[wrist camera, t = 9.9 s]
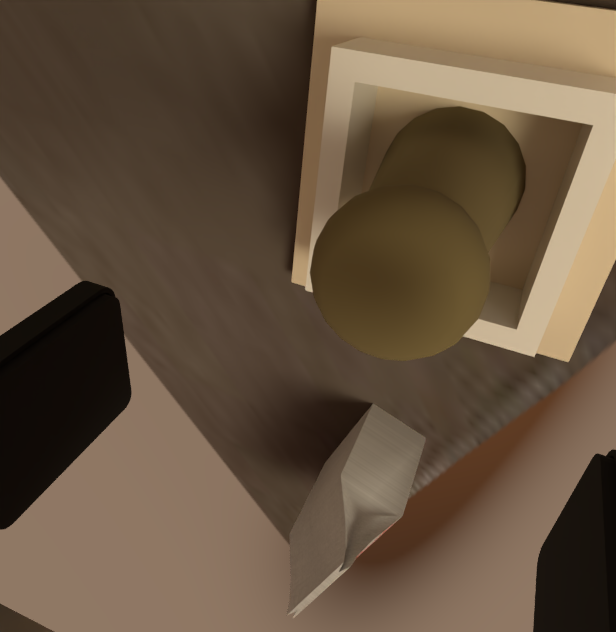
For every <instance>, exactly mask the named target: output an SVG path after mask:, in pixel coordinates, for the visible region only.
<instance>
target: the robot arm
mask: <svg viewBox="0 0 616 632" xmlns="http://www.w3.org/2000/svg"><path fill="white" fill-rule="evenodd" d="M130 398H131V385H130V378H129V369H128V363H127V354H126V347H125V339H124V331H123V324H122V316H121V308H120V303H119V300H118V299H117V298H116V297H115V294H114V292H113V291H112V289H110V288H108V287H105V286H101V285H98V284H95V283H92V282H89V281H82V282H80V283H78V284H76V285H75V286H74V287H72V288H71V289H69V290H68V291H66V292H65V293H63V294H62V295H60V296H59V297H57V298H56V299H54V300H53V301H51V302H50V303H48V304H47V305H46V306H44V307H42V308H41V309H39V310H38V311H36V312H35V313H33V314H32V315H30V316H29V317H27V318H26V319H25V320H23V321H22V322H20V323H19V324H17V325H16V326H14V327H13V328H11V329H10V330H8V331H7V332H5V333H4V334H2V335H1V336H0V529H6V528H7V527H9V526H10V525H12V524H13V523H14V522H15V521H16V520H17V519H18V518H19V517H20V516H21V515H22V514H23V513H24V512H25V510H27V509H28V508H29V507H30V505H31V504H32V503H33V502H34V501H35V500H36V499H37V498H38V497H39V496H40V495H41V494H42V493H43V492H44V491H45V490H46V489H47V488H48V487H49V486H50V485H51V484H52V483H53V482H54V481H55V480H56V478H58V477H59V476H60V475H61V474H62V473H63V472H64V470H66V468H67V467H69V465H70V464H71V463H72V462H73V461H74V460H75V459H76V458H77V457H78V456H79V455H80V454H81V453H82V452H83V451H84V450H85V449H86V448H87V447H88V446H89V445H90V444H91V443H92V442H93V441H94V440H95V439H96V438H97V437H98V436H99V434H101V432H103V431H104V430H105V429H106V427H108V426H109V424H110V423H111V422H112V421H113V420H114V419H115V418H116V417H117V416H118V415H119V414H120V413H121V412H122V411H123V410H124V409H125V408H126V407H127V405H128V403H129V401H130ZM0 632H53V631H52V630H50V629H48V628H46V627H44V626H42V625H40V624H38V623H36V622H35V621H33V620H31V619H29V618H27V617H25V616H23V615H21V614H19V613H17V612H15V611H13V610H11V609H9V608H8V607H5V606H4V605H2V604H0ZM533 632H616V450H611V451H610V452H609V453H608V454H607V455H606V456H604V455H601V454H595V455H594V457H593V458H592V460H591V461H590V463H589V465H588V467H587V469H586V470H585V472H584V474H583V475H582V477H581V479H580V481H579V483H578V484H577V486H576V488H575V489H574V491H573V493H572V495H571V496H570V498H569V500H568V502H567V503H566V505H565V507H564V509H563V510H562V512H561V514H560V516H559V517H558V519H557V521H556V523H555V525H554V526H553V528H552V530H551V531H550V533H549V535H548V537H547V539H546V540H545V542H544V544H543V546H542V548H541V551H540V554H539V557H538V563H537V576H536V594H535V611H534V629H533Z"/></svg>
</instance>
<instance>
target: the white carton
mask: <svg viewBox="0 0 616 632" xmlns="http://www.w3.org/2000/svg"><path fill="white" fill-rule="evenodd" d="M425 440H426V438H425V437H424V436H422V435H421V434H419V433H418V432H416V431H414V430H413V429H411V428H410V427H408V426H407V425H405V424H404V423H402V422H401V421H399V420H398V419H396V418H395V417H393V416H392V415H390V414H388V413H387V412H385V411H384V410H382V409H381V408H379V407H378V406H376V405H375V404H372V405H371V407H370V408H369V409H368V410H367V412H366V413H365V414H364V415H363V416H362V418H361V419H360V420H359V421H358V423H357V424H356V425H355V426H354V428H353V429H352V430H351V431H350V433H349V434H348V435H347V436H346V437H345V439H344V440H343V441H342V442H341V444H340V445H339V446H338V447H337V449H336V450H335V451H334V452H333V454H332V455H331V456H330V457H329V458H328V460H327V461H326V462H325V464H324V466H323V468H322V470H321V472H320V474H319V476H318V478H317V480H316V482H315V484H314V486H313V488H312V490H311V492H310V494H309V496H308V498H307V500H306V502H305V504H304V506H303V508H302V510H301V512H300V514H299V516H298V518H297V520H296V522H295V524H294V526H293V528H292V530H291V533H290V568H291V569H290V570H291V571H290V573H291V583H290V601H289V606H288V611H287V615H288V614H291V613H293V612H295V611H296V612H295V614H294V617H295V616H296V615H297V614H299V613H300V612H301V611H302V610H303V609H304V608H305V607H306V606H307V605H309V604H310V603H311V602H312V601H313V600H314V599H315V598H316V597H317V596H318V595H320V594H321V593H322V592H323V591H324V590H325V589H326V588H327V587H328V586H330V584H332V583H333V582H334V581H335V580H336V579H337V578H338V577H340V576H341V575H342V574H343V573H344V572H345V571H346V570H347V569H348V568H349V567H350V566H351V565H352V564H353V562H354V560H355V559H356V558H357V557H358V556H359V555H360V554H361V553H362V552H364V551H365V550H366V549H367V548H368V547H369V546H370V545H371V544H372V543H373V542H374V541H376V540H377V539H378V538H379V537H380V536H381V535H382V534H383V533H384V532H385V531H387V530H388V529H389V528H390V527H391V526H392V525H393V524H394V523H395V522H396V521H398V520H399V519H400V518H401V517H402V516H403V513H404V509H405V506H406V503H407V499H408V496H409V493H410V490H411V486H412V483H413V480H414V476H415V473H416V470H417V466H418V463H419V460H420V457H421V453H422V450H423V447H424V443H425ZM294 617H293V618H294Z"/></svg>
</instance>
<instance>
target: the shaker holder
mask: <svg viewBox="0 0 616 632" xmlns="http://www.w3.org/2000/svg"><path fill="white" fill-rule="evenodd" d="M457 106H461V107H466V108H470V109H474V110H478V111H482V112H485V113H486V114H488V115H490V116H491V117H493V118H494V119H496V120H497V121H499V122H501V123H502V124H504V125H505V127H506V128H507V129H508V130H509V132H510V133H511V134H512V136H513V137H514V138H515V139H516V141H517V142H518V143H519V146H520V149H521V152H522V155H523V158H524V161H525V165H526V180H525V191H524V194H523V196H522V199H521V201H520V204H519V206H518V209H517V211H516V213H515V214H514V216H513V217H512V219H511V220H510V222H509V223H508V224H507V226H506V227H505V229H504V230H503V232H502V233H501V235H500V236H499V238H498V239H497V241H496V242H495V244H494V245H493V247H492V248H491V250H490V251H489V253H488V254H489V257H490V288H489V293H488V296H487V299H486V301H485V304H484V307H483V309H482V312H481V314H480V317H479V319H478V320H477V321H476V322H475V323H474V324H473V325H472V326H471V328H470V329H469V330H468V331H467V332H466V333H465V334H464V335H463V336H464V337H468V338H471V339H474V340H478V341H481V342H485V343H488V344H492V345H495V346H499V347H502V348H505V349H509V350H512V351H516V352H519V353H523V354H526V355H529V356H533V357H535V354H536V353H538V354H542V355H545V356H549V357H552V358H556V359H559V360H562V361H566V362H569V360H570V358H571V356H572V354H573V351H574V349H575V347H576V345H577V343H578V340H579V338H580V336H581V334H582V332H583V330H584V327H585V325H586V323H587V321H588V319H589V316H590V314H591V312H592V310H593V308H594V305H595V303H596V301H597V299H598V297H599V295H600V292H601V290H602V288H603V286H604V284H605V281H606V279H607V277H608V275H609V273H610V271H611V268H612V266H613V264H614V262H615V260H616V9H608V8H600V7H593V6H585V5H577V4H570V3H562V2H554V1H547V0H317V9H316V20H315V31H314V42H313V53H312V64H311V75H310V86H309V96H308V107H307V118H306V129H305V140H304V151H303V162H302V173H301V184H300V195H299V206H298V216H297V227H296V238H295V249H294V260H293V271H292V282H293V283H296V284H300V285H303V286H306V288H305V290H306V291H310V292H313V289H312V283H311V277H310V268H311V262H312V256H313V250H314V247H315V243H316V240H317V238H318V237H319V235H320V233H321V231H322V229H323V228H324V226H325V224H326V222H327V221H328V219H329V218H330V217H331V216H332V215H333V214H334V213H335V212H336V211H338V210H339V209H340V208H341V207H342V206H343V205H345V204H346V203H347V202H348V201H349V200H351V199H352V198H353V197H354V196H356V195H359V194H361V193H364V192H367V191H369V189H370V186H371V184H372V182H373V180H374V178H375V175H376V173H377V171H378V169H379V167H380V164H381V162H382V160H383V158H384V156H385V154H386V152H387V150H388V148H389V146H390V145H391V143H392V141H393V140H394V138H395V136H396V135H397V133H398V132H399V131H400V130H401V129H403V128H404V127H405V126H406V125H407V124H408V123H409V122H410V121H412V120H413V119H414V118H415V117H418V116H420V115H422V114H425V113H427V112H429V111H432V110H434V109H436V108H447V107H457Z"/></svg>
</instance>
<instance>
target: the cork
mask: <svg viewBox="0 0 616 632" xmlns="http://www.w3.org/2000/svg"><path fill="white" fill-rule="evenodd" d="M525 180H526V165H525V161H524V158H523V155H522V152H521V149H520V146H519V143H518V142H517V141H516V139H515V138H514V137H513V136H512V134H511V133H510V132H509V130H508V129H507V128H506V127H505V125H504V124H502V123H501V122H499V121H497V120H496V119H494V118H493V117H491V116H490V115H488V114H486V113H485V112H482V111H478V110H474V109H470V108H466V107H461V106H457V107H447V108H436V109H434V110H432V111H429V112H427V113H425V114H422V115H420V116H418V117H415V118H414V119H413V120H412V121H410V122H409V123H408V124H407V125H406V126H405V127H404V128H403V129H401V130H400V131H399V132H398V133H397V135H396V136H395V138H394V140H393V141H392V143H391V145H390V146H389V148H388V150H387V152H386V154H385V156H384V158H383V160H382V162H381V164H380V167H379V169H378V171H377V173H376V175H375V178H374V180H373V182H372V184H371V186H370V189H369V191H367V192H364V193H361V194H359V195H356V196H354V197H353V198H352V199H351V200H349V201H348V202H347V203H346V204H345V205H343V206H342V207H341V208H340V209H339V210H338V211H336V212H335V213H334V214H333V215H332V216H331V217H330V218H329V219H328V221H327V222H326V224H325V226H324V228H323V229H322V231H321V233H320V235H319V237H318V238H317V240H316V243H315V247H314V250H313V256H312V262H311V268H310V277H311V283H312V289H313V295H314V298H315V300H316V303H317V305H318V307H319V309H320V311H321V313H322V315H323V317H324V319H325V321H326V322H327V324H328V325H329V326H330V327H331V328H332V329H333V330H334V331H335V332H336V334H337V335H338V336H339V337H340V338H341V339H342V340H344V341H345V342H347V343H348V344H350V345H351V346H353V347H354V348H356V349H357V350H359V351H361V352H364V353H366V354H369V355H372V356H375V357H378V358H380V359H388V360H399V361H407V360H413V359H418V358H423V357H429V356H434V355H436V354H438V353H440V352H442V351H443V350H445V349H447V348H449V347H451V346H453V345H455V344H456V343H457V342H458V341H459V340H460V339H461V338H462V336H463V335H464V334H465V333H466V332H467V331H468V330H469V329H470V328H471V326H472V325H473V324H474V323H475V322H476V321H477V320H478V319H479V317H480V314H481V312H482V309H483V307H484V304H485V301H486V299H487V296H488V293H489V288H490V257H489V254H488V253H489V251H490V250H491V248H492V247H493V245H494V244H495V242H496V241H497V239H498V238H499V236H500V235H501V233H502V232H503V230H504V229H505V227H506V226H507V224H508V223H509V222H510V220H511V219H512V217H513V216H514V214H515V213H516V211H517V209H518V206H519V204H520V201H521V199H522V196H523V194H524V191H525Z"/></svg>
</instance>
